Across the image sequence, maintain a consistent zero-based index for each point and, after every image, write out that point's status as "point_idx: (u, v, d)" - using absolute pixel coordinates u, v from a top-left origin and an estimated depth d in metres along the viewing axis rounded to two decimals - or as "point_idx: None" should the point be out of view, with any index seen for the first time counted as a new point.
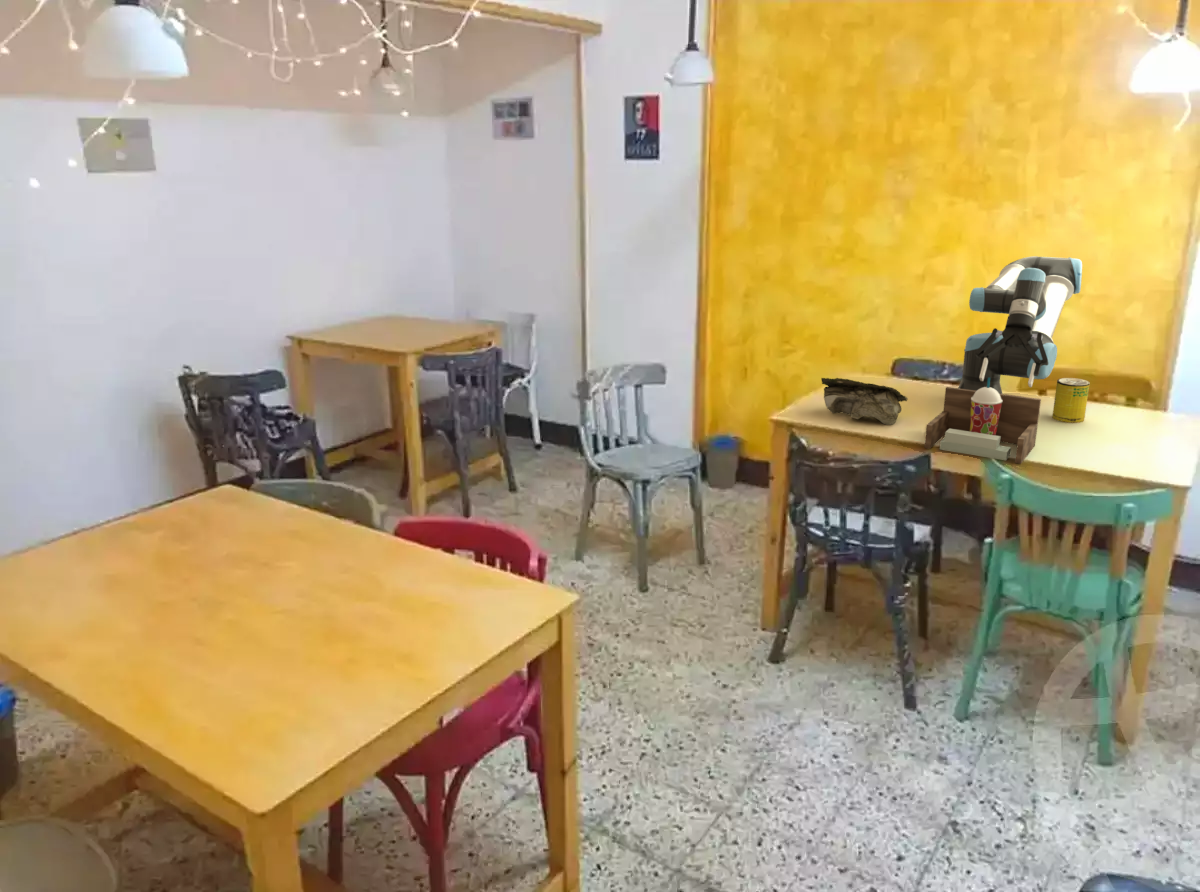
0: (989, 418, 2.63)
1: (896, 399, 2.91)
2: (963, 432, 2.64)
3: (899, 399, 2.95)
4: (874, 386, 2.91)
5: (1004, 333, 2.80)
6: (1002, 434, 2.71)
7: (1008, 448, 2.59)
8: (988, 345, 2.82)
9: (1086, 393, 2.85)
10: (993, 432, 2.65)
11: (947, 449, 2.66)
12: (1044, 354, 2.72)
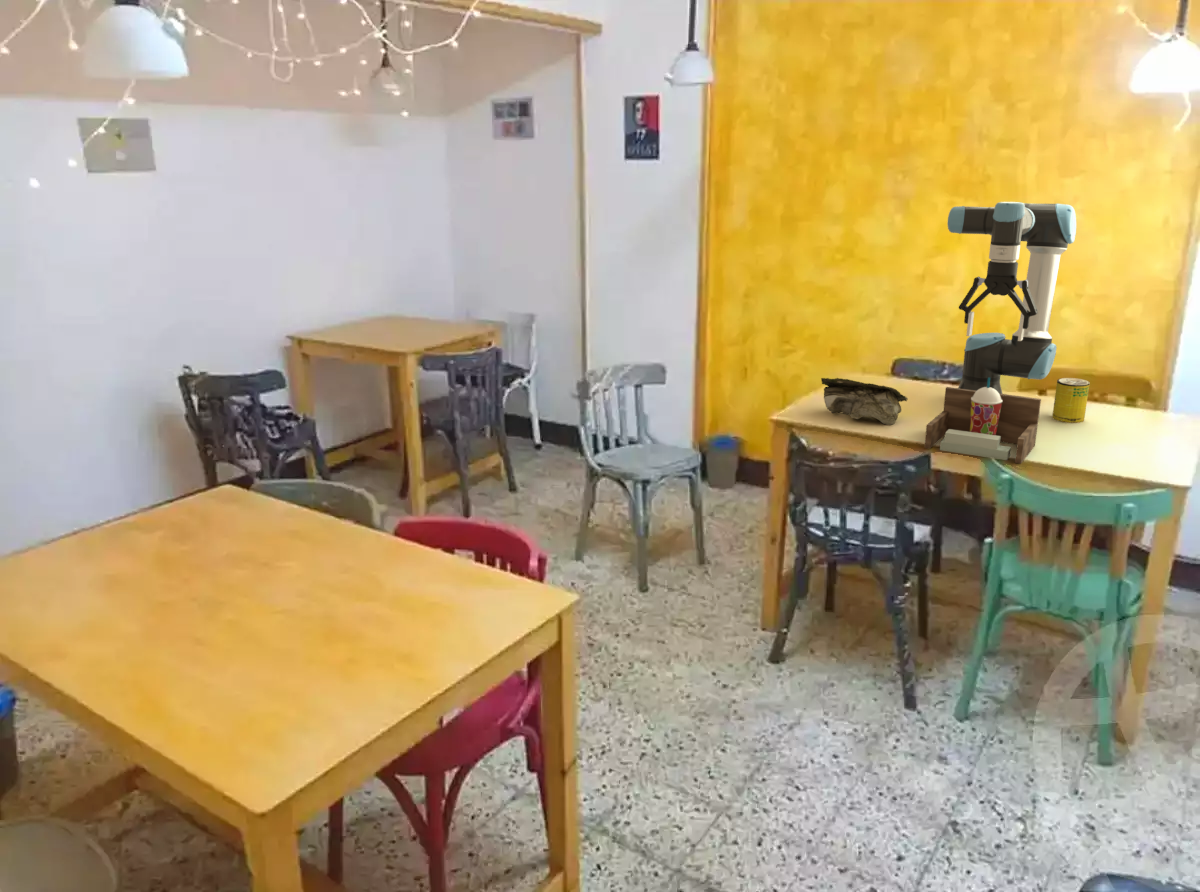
0: (989, 418, 2.63)
1: (896, 399, 2.91)
2: (963, 432, 2.64)
3: (899, 399, 2.95)
4: (874, 386, 2.91)
5: (986, 283, 2.57)
6: (1002, 434, 2.71)
7: (1008, 448, 2.59)
8: (971, 295, 2.61)
9: (1086, 393, 2.85)
10: (993, 432, 2.65)
11: (947, 450, 2.65)
12: (1031, 306, 2.51)
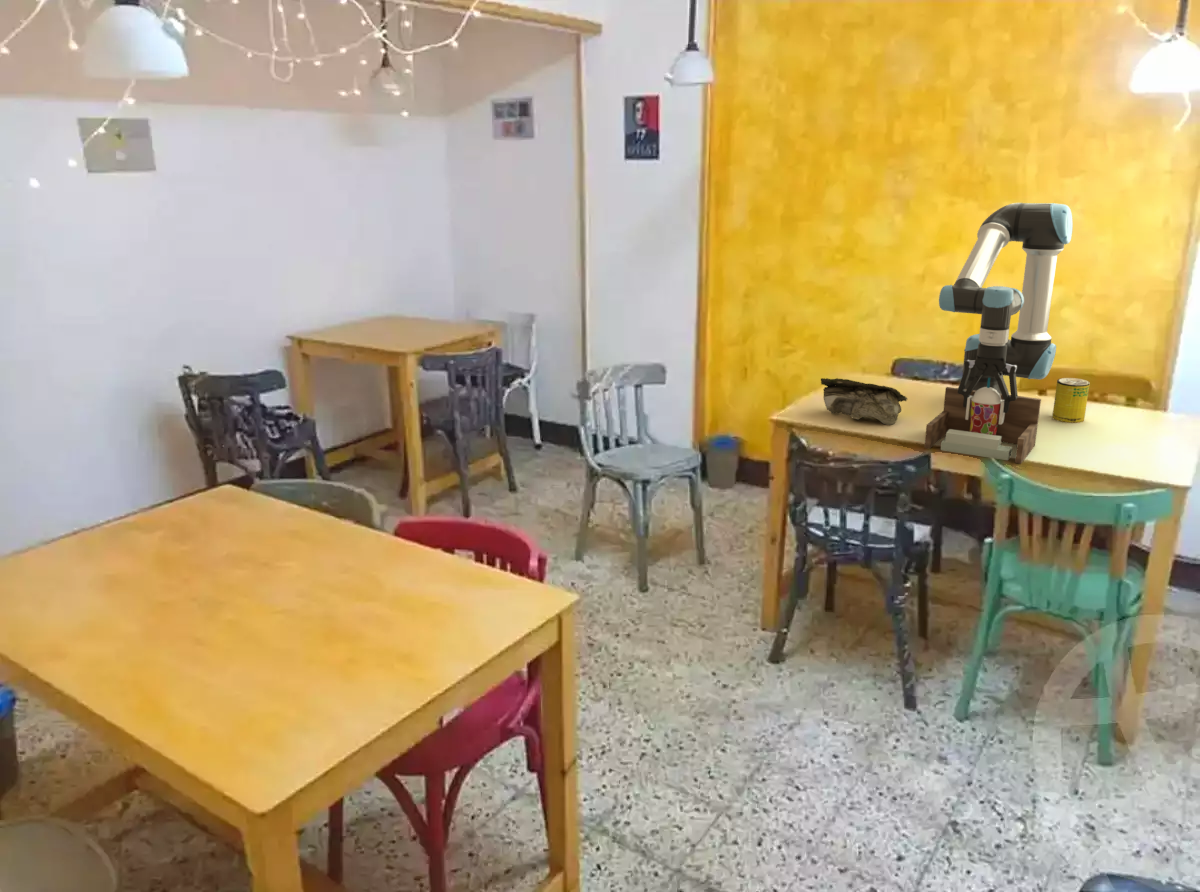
0: (989, 418, 2.63)
1: (896, 399, 2.91)
2: (964, 432, 2.64)
3: (899, 399, 2.95)
4: (874, 386, 2.90)
5: (977, 364, 2.63)
6: (1002, 434, 2.71)
7: (1009, 448, 2.59)
8: (967, 378, 2.67)
9: (1086, 393, 2.85)
10: (993, 432, 2.65)
11: (948, 450, 2.65)
12: (1013, 392, 2.59)
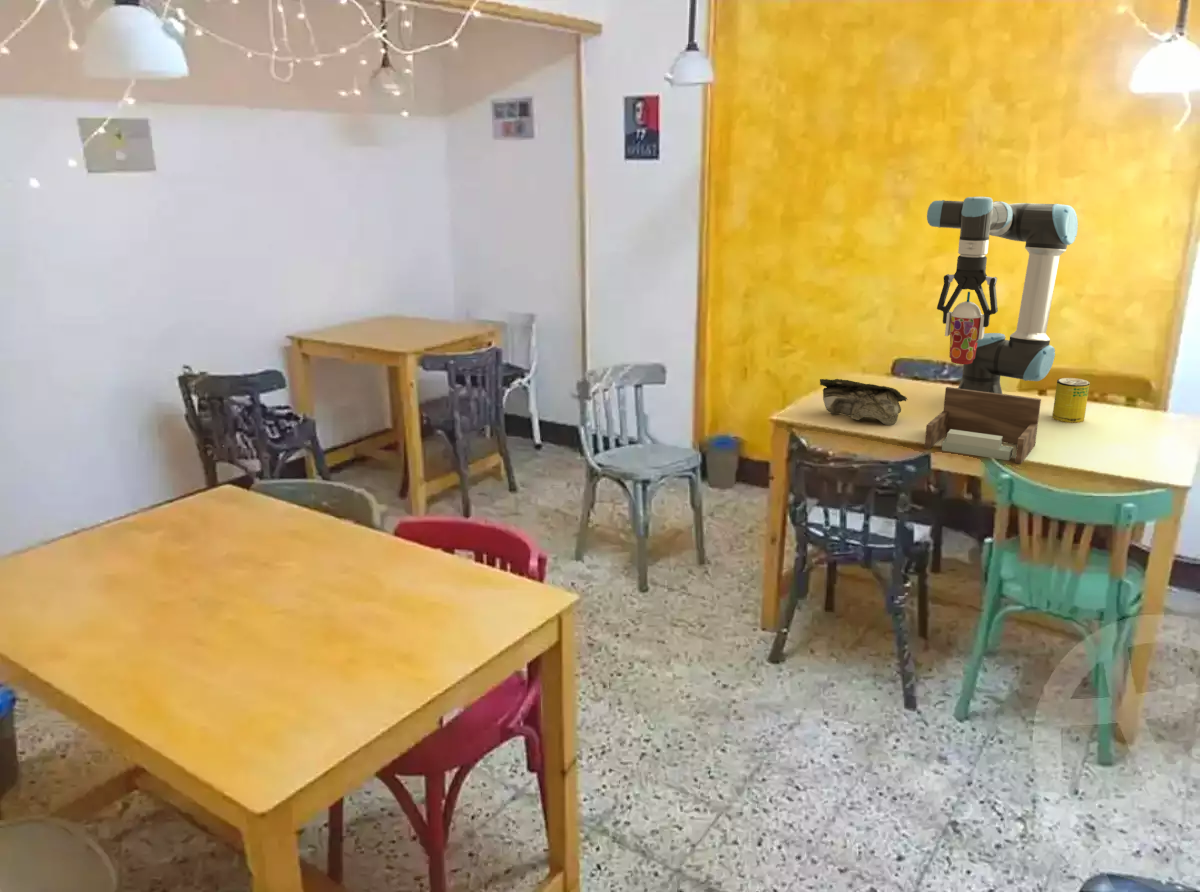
0: (969, 333, 2.58)
1: (896, 399, 2.91)
2: (965, 433, 2.64)
3: (898, 399, 2.95)
4: (874, 387, 2.90)
5: (956, 277, 2.58)
6: (1002, 434, 2.71)
7: (1010, 448, 2.59)
8: (946, 294, 2.62)
9: (1086, 393, 2.85)
10: (973, 347, 2.61)
11: (949, 450, 2.65)
12: (993, 305, 2.55)
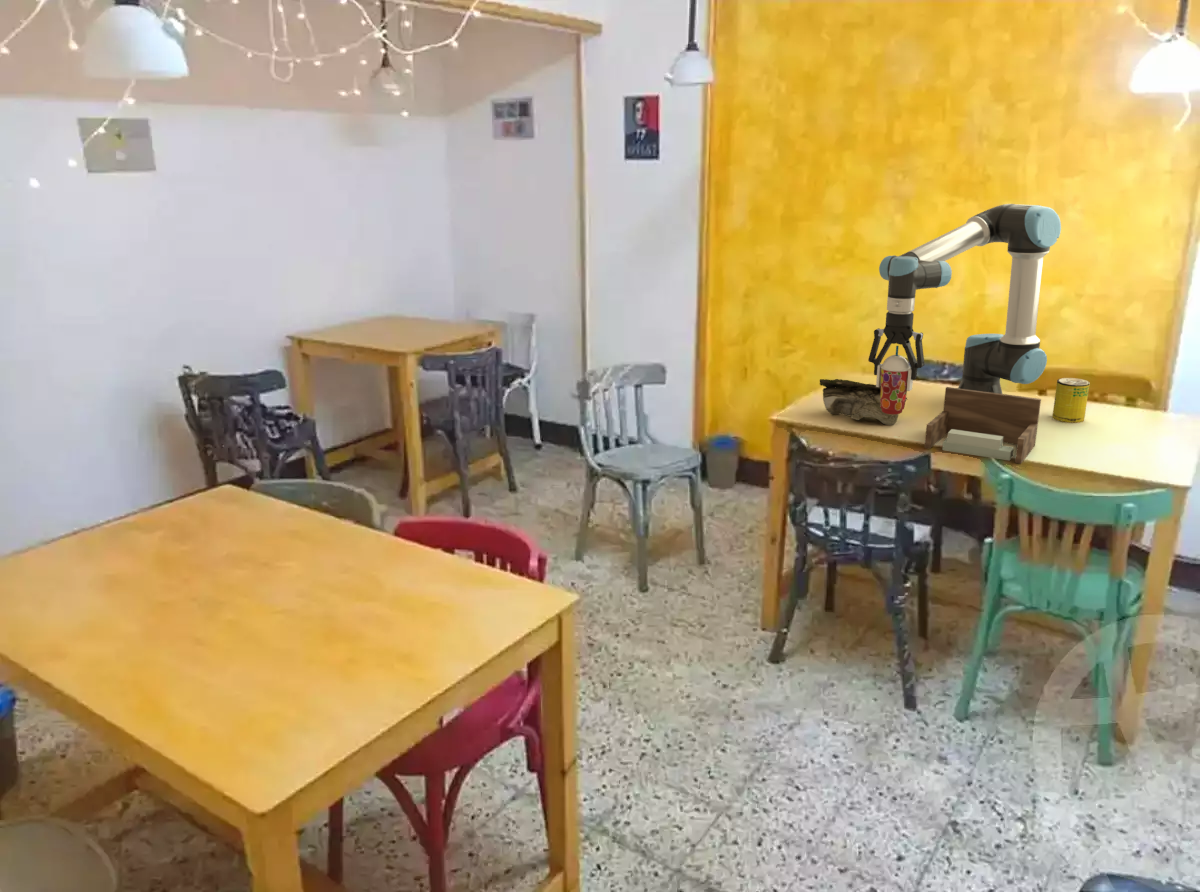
0: (897, 385, 2.71)
1: None
2: (966, 433, 2.64)
3: None
4: (874, 387, 2.90)
5: (885, 332, 2.71)
6: (1002, 434, 2.71)
7: (1011, 448, 2.59)
8: (877, 347, 2.74)
9: (1086, 393, 2.85)
10: (902, 399, 2.73)
11: (950, 450, 2.65)
12: (919, 359, 2.67)
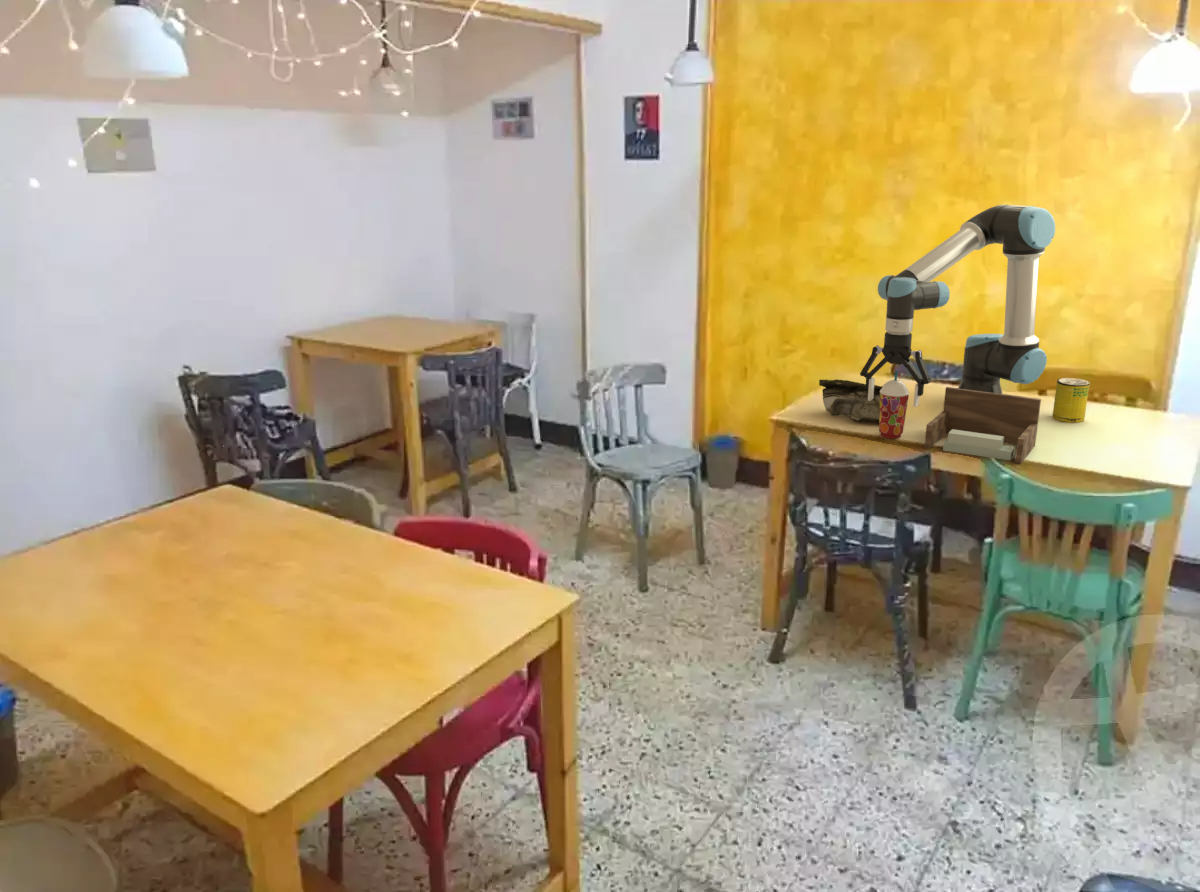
0: (896, 410, 2.73)
1: None
2: (966, 433, 2.64)
3: None
4: (874, 387, 2.90)
5: (884, 352, 2.73)
6: (1002, 434, 2.71)
7: (1012, 448, 2.59)
8: (871, 363, 2.77)
9: (1086, 393, 2.85)
10: (900, 423, 2.75)
11: (950, 450, 2.65)
12: (924, 375, 2.68)
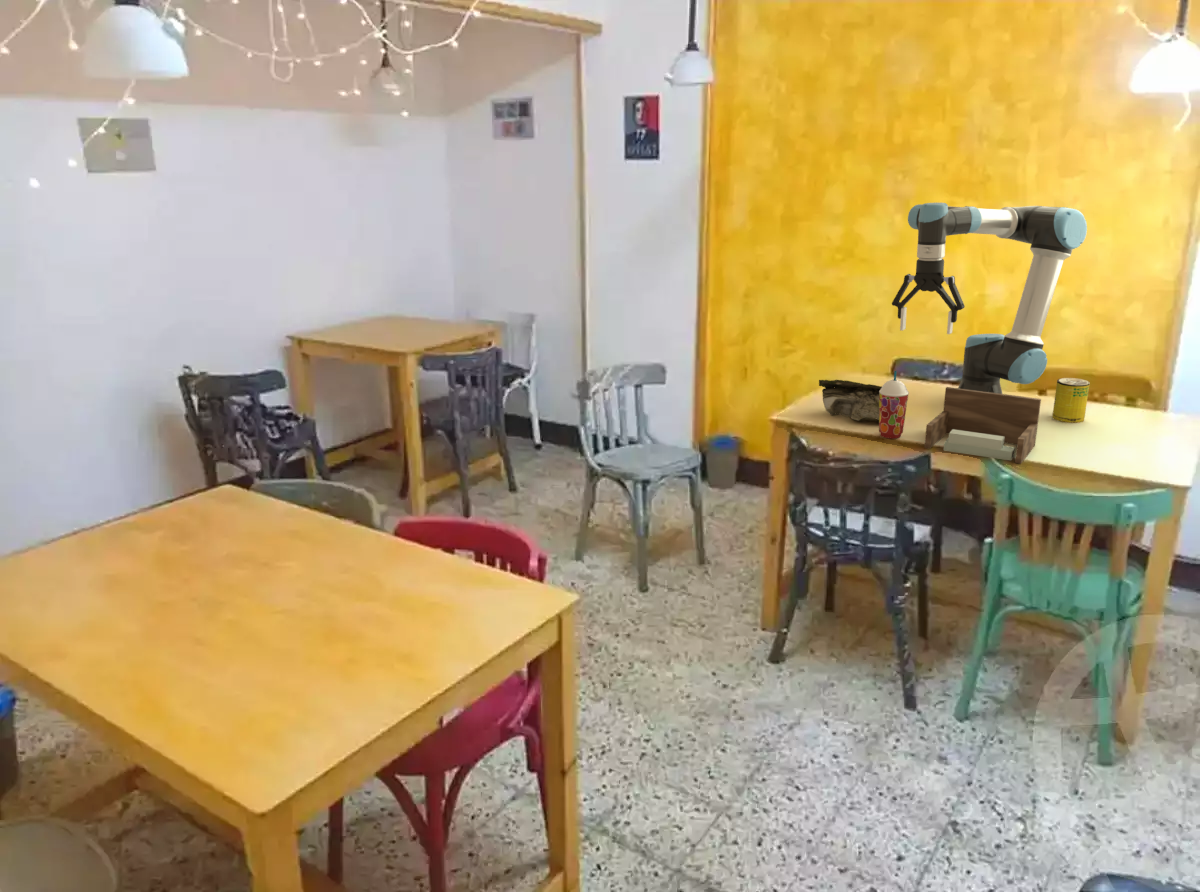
0: (895, 410, 2.73)
1: None
2: (967, 433, 2.64)
3: None
4: (874, 387, 2.90)
5: (916, 280, 2.71)
6: (1002, 434, 2.71)
7: (1012, 448, 2.59)
8: (903, 292, 2.75)
9: (1086, 393, 2.85)
10: (900, 423, 2.75)
11: (951, 450, 2.65)
12: (958, 301, 2.65)
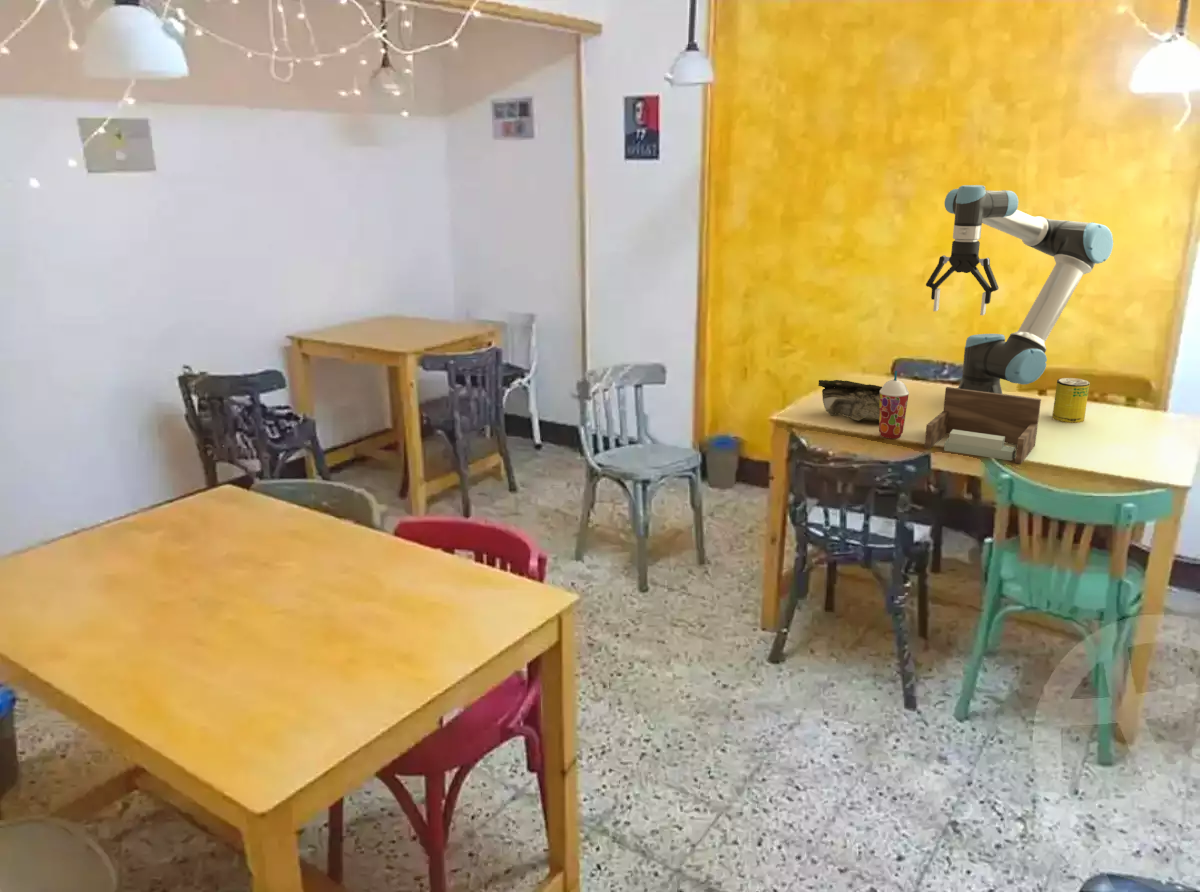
0: (896, 410, 2.73)
1: None
2: (967, 433, 2.64)
3: None
4: (874, 387, 2.90)
5: (951, 261, 2.75)
6: (1002, 434, 2.71)
7: (1013, 448, 2.59)
8: (937, 273, 2.79)
9: (1086, 393, 2.85)
10: (900, 423, 2.75)
11: (951, 450, 2.65)
12: (992, 282, 2.70)
